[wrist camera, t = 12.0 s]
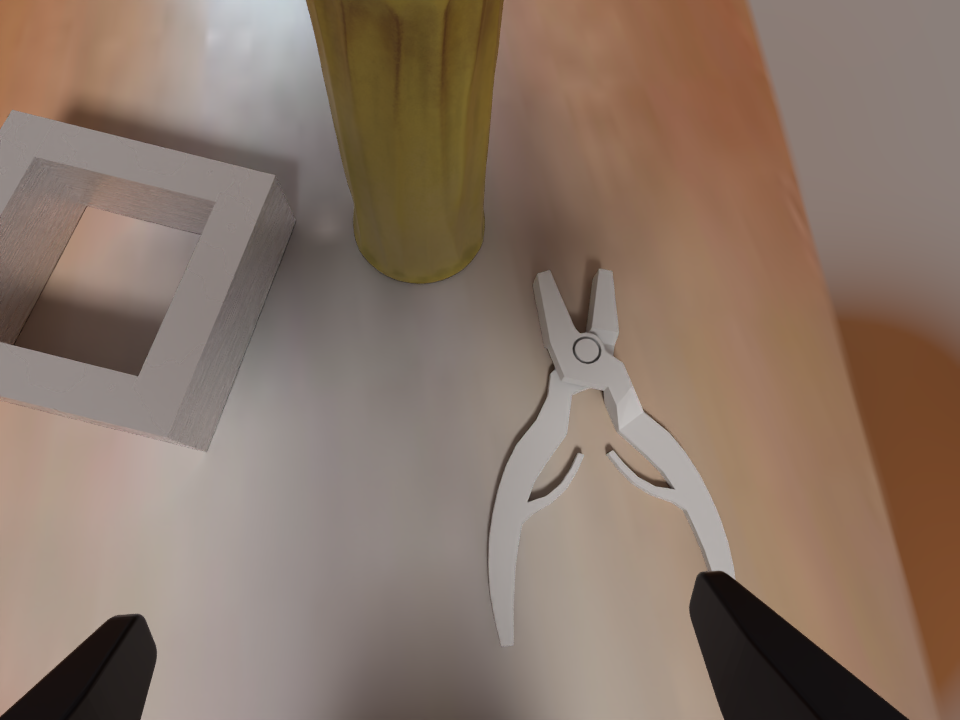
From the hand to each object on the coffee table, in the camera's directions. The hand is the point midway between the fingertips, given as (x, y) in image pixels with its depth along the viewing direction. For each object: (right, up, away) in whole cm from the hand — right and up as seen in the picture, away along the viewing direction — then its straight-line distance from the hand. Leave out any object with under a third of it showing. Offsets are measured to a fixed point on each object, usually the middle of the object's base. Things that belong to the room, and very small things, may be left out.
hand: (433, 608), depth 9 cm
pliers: (+5, 0, +15) cm, 16 cm away
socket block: (-14, +7, +15) cm, 22 cm away
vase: (-2, +10, +18) cm, 20 cm away
